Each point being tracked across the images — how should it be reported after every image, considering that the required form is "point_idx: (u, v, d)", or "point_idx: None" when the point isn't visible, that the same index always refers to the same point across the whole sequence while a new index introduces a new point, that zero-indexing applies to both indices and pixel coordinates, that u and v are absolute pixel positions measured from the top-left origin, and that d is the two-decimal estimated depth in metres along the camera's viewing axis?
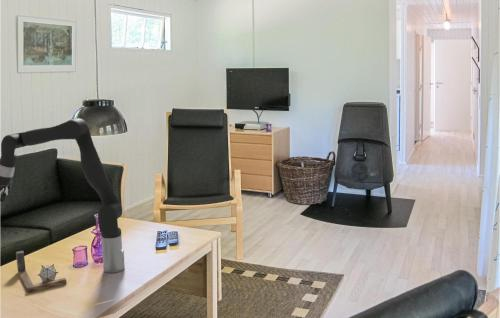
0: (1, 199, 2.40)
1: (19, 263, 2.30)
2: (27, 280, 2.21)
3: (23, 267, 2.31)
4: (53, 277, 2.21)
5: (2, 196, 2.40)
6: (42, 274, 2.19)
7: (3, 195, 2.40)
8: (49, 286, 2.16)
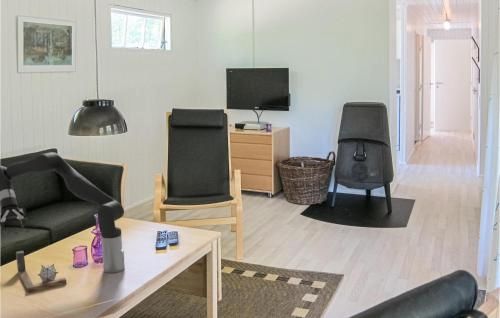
0: None
1: (19, 263, 2.30)
2: (27, 280, 2.21)
3: (23, 267, 2.31)
4: (53, 277, 2.21)
5: (21, 222, 2.42)
6: (42, 274, 2.19)
7: (21, 220, 2.42)
8: (49, 286, 2.16)
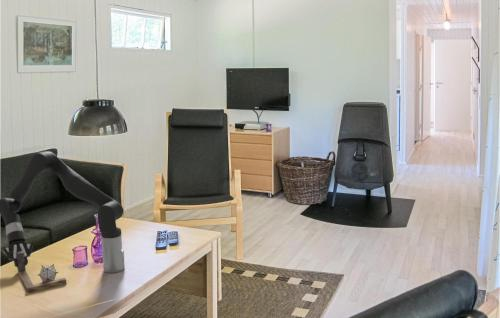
0: None
1: (19, 263, 2.30)
2: (27, 280, 2.21)
3: (23, 267, 2.31)
4: (53, 277, 2.21)
5: None
6: (42, 274, 2.19)
7: None
8: (49, 286, 2.16)
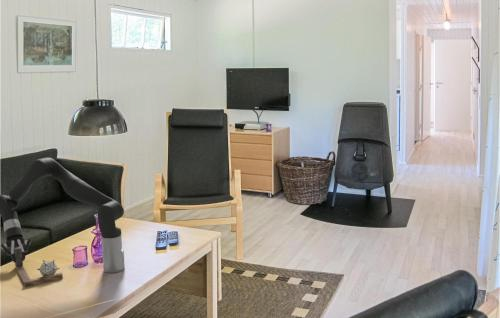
0: (22, 258, 2.37)
1: (17, 258, 2.35)
2: (24, 275, 2.26)
3: (20, 262, 2.37)
4: (51, 273, 2.25)
5: None
6: (41, 269, 2.24)
7: None
8: (46, 280, 2.21)
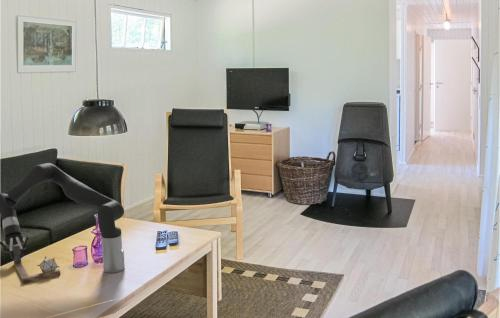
0: None
1: (15, 255, 2.39)
2: (23, 271, 2.30)
3: (19, 259, 2.40)
4: (49, 270, 2.28)
5: None
6: (40, 265, 2.29)
7: None
8: (44, 277, 2.25)
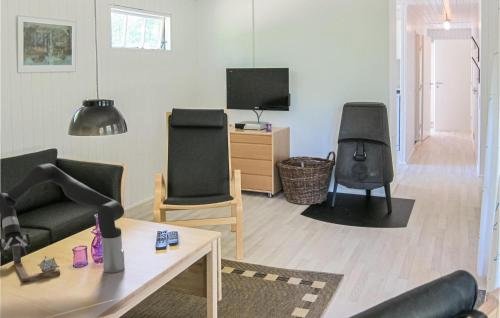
0: (25, 252, 2.43)
1: (15, 255, 2.39)
2: (22, 271, 2.30)
3: (19, 259, 2.41)
4: (49, 270, 2.29)
5: (24, 249, 2.44)
6: (40, 265, 2.29)
7: (24, 248, 2.44)
8: (43, 277, 2.25)
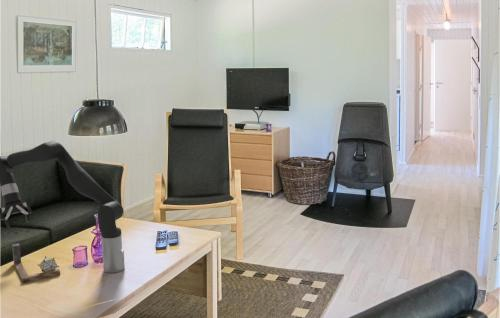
0: (26, 220, 2.44)
1: (15, 255, 2.39)
2: (22, 271, 2.30)
3: (19, 259, 2.41)
4: (49, 270, 2.29)
5: None
6: (40, 265, 2.29)
7: (25, 216, 2.44)
8: (43, 277, 2.25)
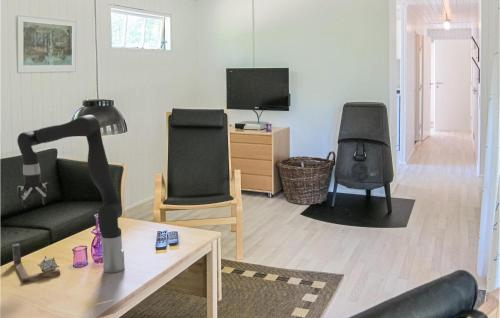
0: None
1: (15, 255, 2.39)
2: (22, 271, 2.30)
3: (19, 259, 2.41)
4: (49, 270, 2.29)
5: (42, 198, 2.40)
6: (40, 265, 2.29)
7: (42, 197, 2.40)
8: (43, 277, 2.25)
